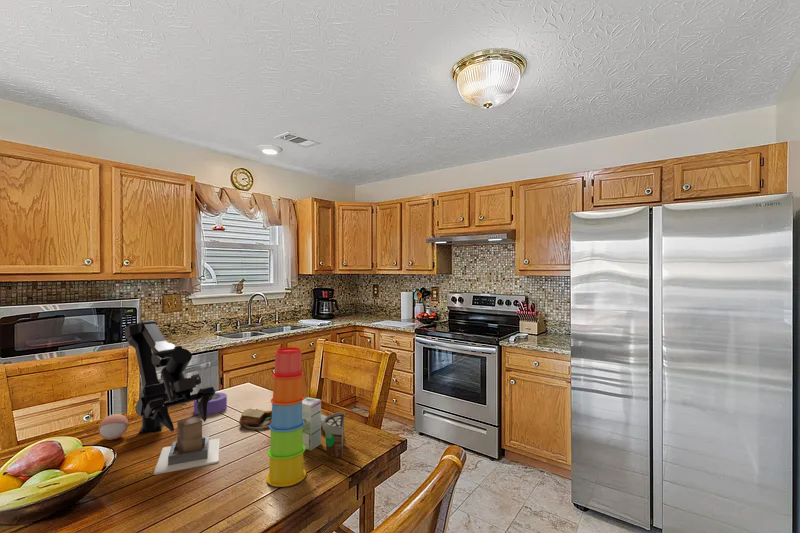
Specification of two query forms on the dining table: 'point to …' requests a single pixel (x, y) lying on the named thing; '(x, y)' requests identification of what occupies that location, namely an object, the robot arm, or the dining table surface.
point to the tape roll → (214, 404)
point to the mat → (212, 459)
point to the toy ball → (113, 426)
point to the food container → (334, 435)
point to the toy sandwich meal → (256, 419)
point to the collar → (188, 453)
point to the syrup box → (311, 422)
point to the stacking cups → (287, 420)
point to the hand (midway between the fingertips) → (189, 425)
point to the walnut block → (189, 435)
